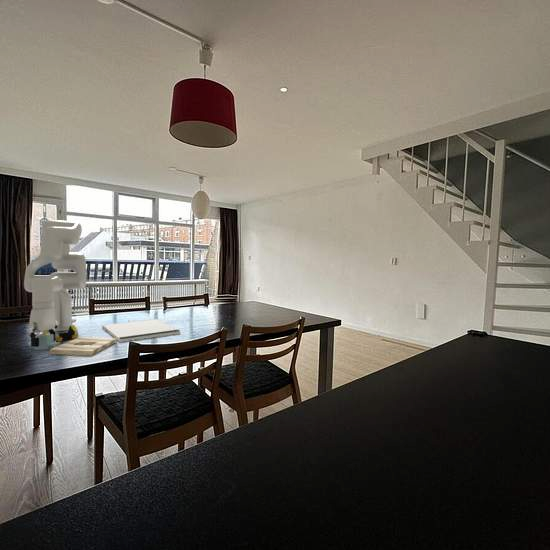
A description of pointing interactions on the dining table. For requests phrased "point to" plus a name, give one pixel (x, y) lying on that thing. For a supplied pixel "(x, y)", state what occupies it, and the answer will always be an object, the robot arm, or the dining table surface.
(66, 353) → the plate
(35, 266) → the robot arm
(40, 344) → the servo block
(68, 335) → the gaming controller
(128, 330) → the white flat board
